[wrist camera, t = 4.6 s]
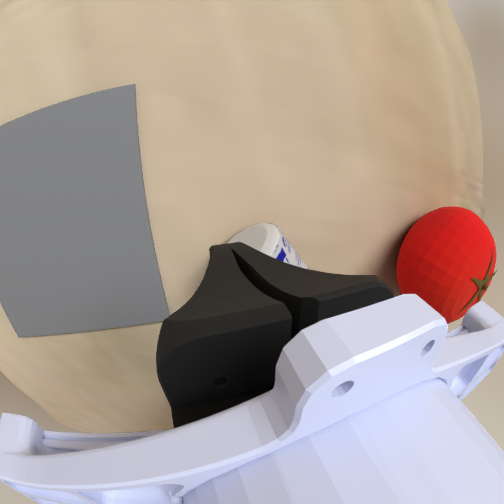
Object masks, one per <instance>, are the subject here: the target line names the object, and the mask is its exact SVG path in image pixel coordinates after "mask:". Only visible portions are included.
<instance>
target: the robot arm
mask: <svg viewBox="0 0 504 504" xmlns="http://www.w3.org/2000/svg"><path fill="white" fill-rule="evenodd" d="M209 251H210V261H209V265H208V268H207V271H206V273H205V276H204V278H203V280H202V282H201V284H200V286H199V287H198V289H197V290H196V292H195V293H194V295H193V296H192V297H191V299H190V300H189V301H188V302H187V303H186V304H185V305H183V306H182V307H181V308H180V309H179V310H177V311H176V312H174V313H173V314H172V315H170V316H169V317H167V318H166V319H164V321H163V324H162V327H161V330H160V334H159V339H158V345H157V353H156V364H157V374H158V379H159V382H160V384H161V386H162V389H163V391H164V393H165V395H166V397H167V399H168V402H169V404H170V406H171V410H172V418H173V425H174V429H166V430H156V431H145V432H129V433H71V432H56V431H45V430H43V429H42V428H41V427H40V426H39V424H38V423H37V422H36V421H34V420H33V419H32V418H30V417H28V416H24V415H18V414H11V413H2V416H1V420H0V481H2V482H3V483H5V484H6V485H8V486H9V487H11V488H13V489H14V490H16V491H18V492H19V493H21V494H23V495H25V496H26V497H28V498H30V499H32V500H34V501H36V502H38V503H40V504H504V452H503V451H502V449H501V448H500V447H499V446H498V444H497V443H496V442H495V441H494V439H493V438H492V437H491V436H490V435H489V433H488V432H487V431H486V430H485V429H484V427H483V426H482V425H481V424H480V423H479V421H478V420H477V419H476V418H475V417H474V416H473V414H472V413H471V412H470V411H469V410H468V409H467V407H466V406H465V405H464V404H463V403H462V402H461V401H462V399H464V398H465V397H466V396H467V395H468V394H469V393H470V392H471V391H472V390H473V389H474V388H475V387H476V386H477V385H478V384H479V383H480V381H482V379H484V377H486V376H487V374H488V373H489V372H490V371H491V370H492V369H493V368H494V366H495V365H496V363H497V361H498V360H499V358H500V357H501V355H502V354H503V352H504V318H503V317H502V316H501V315H499V314H498V313H497V312H496V311H494V310H493V309H492V308H491V307H489V306H488V305H487V304H486V303H484V302H483V301H479V302H478V303H476V304H475V305H473V306H472V307H470V308H469V309H468V311H467V312H466V314H465V316H464V318H463V321H462V324H461V325H459V326H458V327H456V328H455V329H453V330H452V331H450V332H448V325H447V322H446V320H445V318H444V317H443V316H441V315H440V314H439V313H438V312H437V311H436V310H434V309H433V308H432V307H431V306H430V305H428V304H427V303H426V302H425V301H424V300H422V299H421V298H420V297H419V296H417V295H416V294H402V295H399V296H397V297H394V294H393V291H392V289H391V288H390V287H388V286H387V285H386V284H385V283H384V282H383V281H381V280H380V279H379V278H378V277H377V276H375V275H342V274H332V273H325V272H319V271H314V270H309V269H305V268H301V267H298V266H295V265H291V264H288V263H285V262H283V261H280V260H278V259H275V258H273V257H271V256H269V255H266V254H264V253H262V252H260V251H258V250H256V249H254V248H252V247H250V246H248V245H246V244H244V243H242V242H234V243H228V244H221V245H214V246H211V247H210V249H209ZM447 332H448V333H447Z"/></svg>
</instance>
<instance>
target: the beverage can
mask: <svg viewBox="0 0 504 504" xmlns="http://www.w3.org/2000/svg"><path fill="white" fill-rule="evenodd" d="M234 242H242V243H244V244H246V245H248V246H250V247H252V248H254V249H256V250H258V251H260V252H262V253H264V254H266V255H269V256H271V257H273V258H275V259H278V260H280V261H283V262H285V263H288V264H291V265H295V266H298V267H301V268H305V269H308V268H307V266H306V265H305V264H304V262H303V261H302V259H301V258H300V257H299V255H298V254H297V253H296V251H295V250H294V249H293V247H292V246H291V245H290V243H289V242H288V241H287V239H286V238H285V237H284V235H283V234H282V233H281V231H280V230H279V229H278V227H277V226H276V225H274V224H271V223H259V224H255V225H252V226H250V227H248V228H245V229H244V230H242V231H241V232H239V233H237V234H236V235H235V236H234V237H233V238H232V239H230V240H229V242H228V243H234ZM228 243H227V244H228Z"/></svg>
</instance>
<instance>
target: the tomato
mask: <svg viewBox="0 0 504 504" xmlns="http://www.w3.org/2000/svg"><path fill="white" fill-rule="evenodd" d="M495 263H496V247H495V243H494V239H493V237H492V235H491V233H490V231H489V229H488V227H487V226H486V225H485V224H484V222H483V221H482V220H481V219H480V218H479V216H477V215H476V214H475V213H473V212H472V211H471V210H468V209H465V208H461V207H442V208H439V209H436V210H433V211H431V212H429V213H427V214H425V215H424V216H422V217H421V218H420V219H419V220H418V221H417V222H416V223H415V224H414V225H413V226H412V228H411V229H410V230H409V232H408V233H407V235H406V237H405V239H404V241H403V243H402V245H401V248H400V251H399V255H398V259H397V267H396V276H397V282H398V286H399V289H400V292H401V295H402V294H416V295H417V296H419V297H420V298H421V299H422V300H424V301H425V302H426V303H427V304H428V305H430V306H431V307H432V308H433V309H434V310H436V311H437V312H438V313H439V314H440V315H441V316H443V317H444V318H445V320H446V322H447V324H448V323H451V322H453V321H455V320H458V319H459V318H461V317H463V316H464V315H465V314H466V312H467V311H468V309H469V308H470V307H472V306H473V305H475V304H476V303H478V302H479V301H480V299H481V298H482V296H483V295H484V293H485V292H486V290H487V288H488V286H489V285H490V282H491V280H492V277H493V275H494V274H495V273H494V274H493V272H494V268H495Z"/></svg>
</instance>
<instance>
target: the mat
mask: <svg viewBox="0 0 504 504" xmlns="http://www.w3.org/2000/svg"><path fill="white" fill-rule="evenodd" d="M0 303H1V305H2V307H3V309H4V311H5V313H6V315H7V317H8V319H9V321H10V322H11V324H12V326H13V328H14V330H15V332H16V333H17V335H18V337H31V336H44V335H56V334H66V333H76V332H86V331H95V330H103V329H111V328H119V327H127V326H134V325H141V324H148V323H154V322H161V321H164V319H166V318H167V317H169V316H170V314H169V310H168V306H167V302H166V298H165V294H164V290H163V286H162V281H161V277H160V272H159V268H158V263H157V258H156V253H155V248H154V243H153V238H152V233H151V227H150V221H149V215H148V209H147V203H146V196H145V189H144V182H143V174H142V166H141V157H140V148H139V137H138V125H137V111H136V92H135V84H132V85H127V86H122V87H117V88H112V89H107V90H103V91H99V92H95V93H91V94H87V95H83V96H80V97H76V98H73V99H70V100H66V101H63V102H60V103H57V104H54V105H51V106H48V107H45V108H42V109H40V110H37V111H34V112H32V113H29V114H27V115H24V116H22V117H20V118H17V119H15V120H13V121H10V122H8V123H6V124H4V125H2V126H0Z"/></svg>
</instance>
